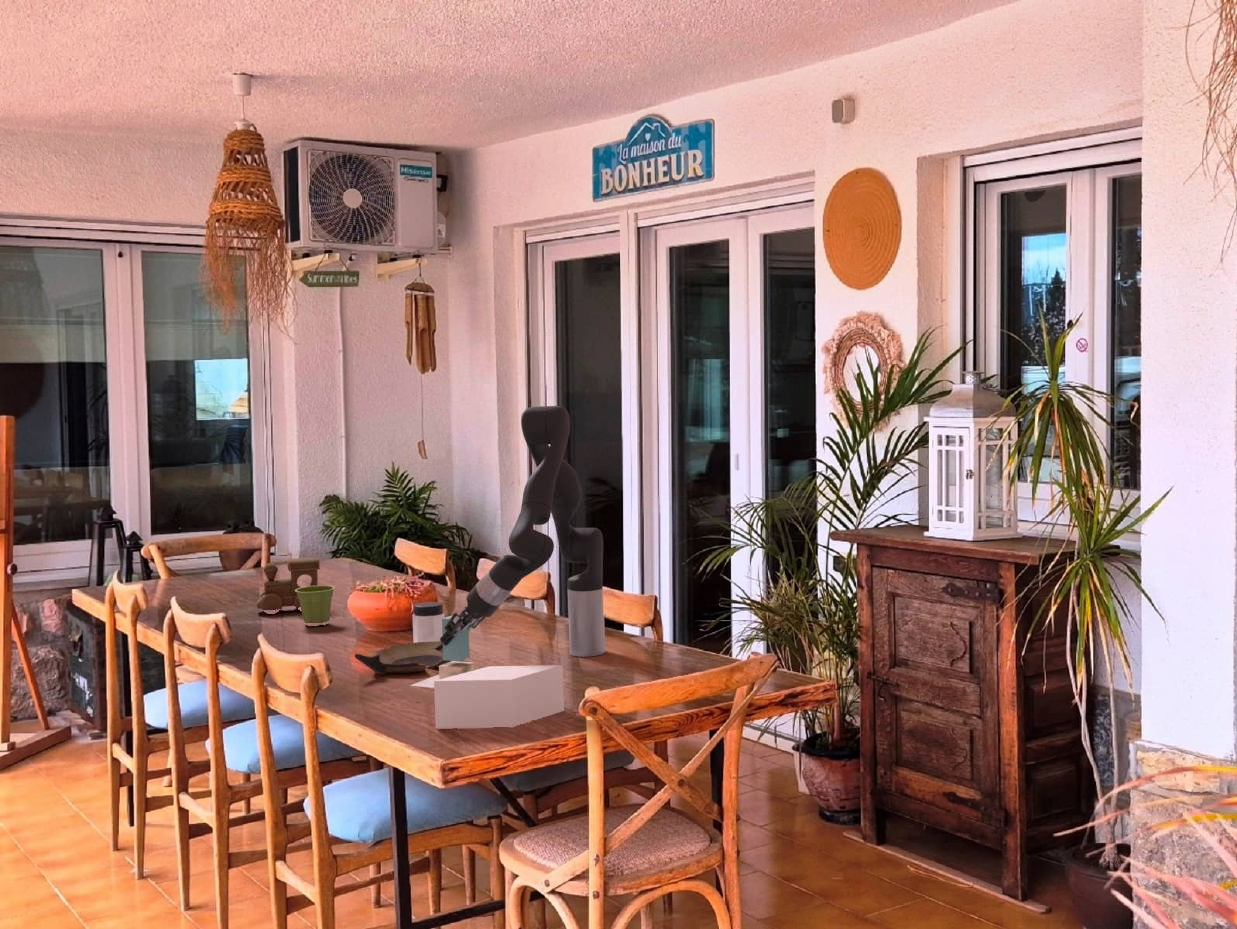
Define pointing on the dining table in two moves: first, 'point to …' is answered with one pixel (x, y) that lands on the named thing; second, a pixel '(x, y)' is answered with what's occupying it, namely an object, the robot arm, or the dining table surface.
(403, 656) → the oil lamp
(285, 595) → the wooden toy train
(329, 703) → the dining table surface
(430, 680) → the build board
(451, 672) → the lower block
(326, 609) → the plant pot
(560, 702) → the wide white block
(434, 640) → the jar
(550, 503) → the robot arm
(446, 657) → the tall block
